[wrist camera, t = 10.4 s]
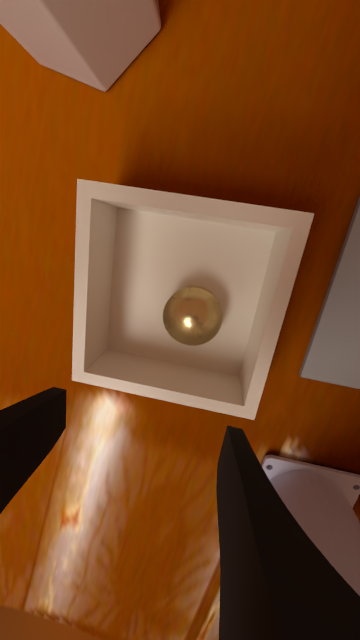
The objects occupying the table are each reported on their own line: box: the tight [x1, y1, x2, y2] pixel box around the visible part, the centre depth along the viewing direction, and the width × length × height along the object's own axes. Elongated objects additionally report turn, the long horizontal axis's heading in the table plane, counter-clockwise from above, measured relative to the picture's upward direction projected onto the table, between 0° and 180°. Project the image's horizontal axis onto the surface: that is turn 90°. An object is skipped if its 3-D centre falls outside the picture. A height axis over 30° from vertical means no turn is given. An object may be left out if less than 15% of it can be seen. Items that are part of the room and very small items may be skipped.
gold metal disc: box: [163, 286, 222, 346], centre depth 18 cm, size 4×4×1 cm
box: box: [72, 179, 315, 420], centre depth 17 cm, size 12×12×4 cm
